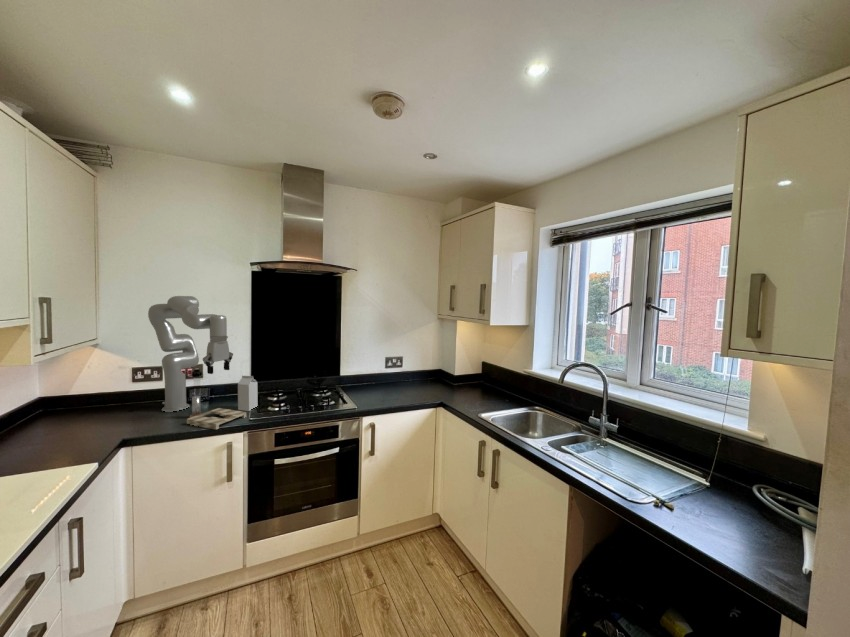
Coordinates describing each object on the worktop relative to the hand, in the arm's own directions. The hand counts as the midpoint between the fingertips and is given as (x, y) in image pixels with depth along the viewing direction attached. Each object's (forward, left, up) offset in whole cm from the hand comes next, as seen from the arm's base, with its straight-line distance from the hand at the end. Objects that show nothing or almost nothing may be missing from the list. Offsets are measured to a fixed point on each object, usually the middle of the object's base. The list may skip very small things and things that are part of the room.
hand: (218, 371), depth 176 cm
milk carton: (+2, +17, -25) cm, 30 cm away
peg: (-12, -3, -25) cm, 28 cm away
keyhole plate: (+3, -3, -25) cm, 25 cm away
